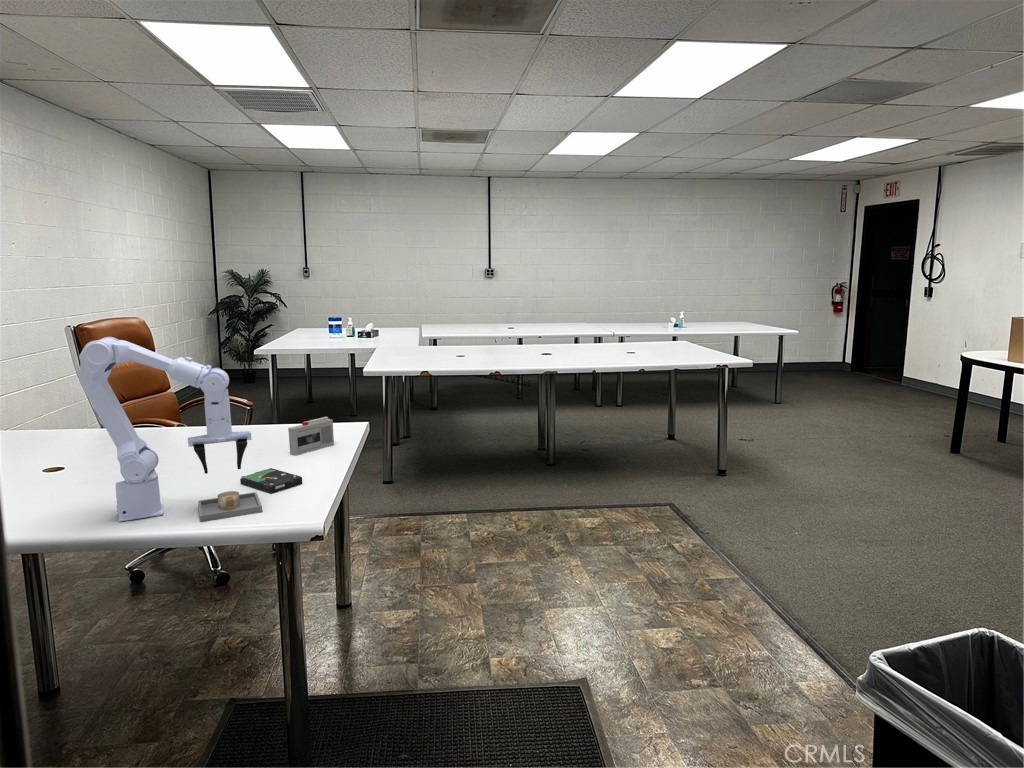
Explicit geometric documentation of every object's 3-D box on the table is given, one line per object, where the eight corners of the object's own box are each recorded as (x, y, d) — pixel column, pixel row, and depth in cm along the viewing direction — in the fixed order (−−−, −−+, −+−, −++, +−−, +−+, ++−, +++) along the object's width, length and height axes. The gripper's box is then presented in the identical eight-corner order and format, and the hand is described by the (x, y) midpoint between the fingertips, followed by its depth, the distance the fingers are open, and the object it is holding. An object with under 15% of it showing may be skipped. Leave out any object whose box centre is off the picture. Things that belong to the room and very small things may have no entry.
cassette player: (295, 456, 216) (293, 425, 214) (290, 454, 218) (288, 424, 216) (334, 445, 229) (332, 416, 227) (329, 444, 230) (327, 415, 228)
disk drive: (303, 486, 188) (271, 476, 197) (303, 476, 188) (270, 467, 196) (271, 496, 180) (239, 485, 188) (270, 486, 179) (238, 476, 188)
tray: (200, 521, 161) (200, 516, 160) (198, 506, 171) (198, 500, 171) (262, 511, 167) (262, 506, 166) (256, 497, 177) (256, 491, 177)
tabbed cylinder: (218, 504, 171) (217, 493, 170) (239, 501, 173) (238, 489, 173) (219, 513, 164) (218, 502, 164) (241, 510, 167) (240, 498, 166)
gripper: (186, 424, 160) (191, 478, 163) (250, 417, 167) (254, 470, 169) (185, 418, 167) (190, 471, 169) (248, 412, 173) (252, 463, 175)
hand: (222, 470), depth 170 cm, fingers open, 7 cm apart
